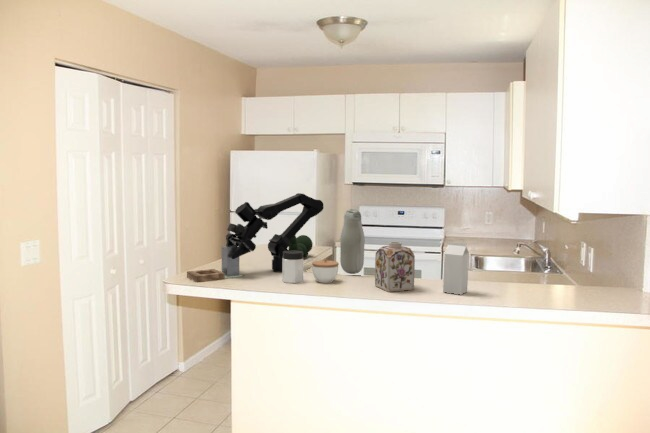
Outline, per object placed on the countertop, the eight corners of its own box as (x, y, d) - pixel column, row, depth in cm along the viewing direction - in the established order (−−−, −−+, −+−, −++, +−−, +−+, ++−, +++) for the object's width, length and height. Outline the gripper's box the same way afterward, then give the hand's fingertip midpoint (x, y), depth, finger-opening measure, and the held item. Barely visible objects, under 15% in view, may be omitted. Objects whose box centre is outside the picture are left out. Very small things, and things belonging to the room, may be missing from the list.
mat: (235, 273, 250) (235, 272, 250) (243, 276, 244) (243, 275, 244) (217, 274, 246) (217, 274, 246) (225, 278, 239) (225, 277, 239)
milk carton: (461, 295, 216) (463, 244, 214) (442, 292, 219) (444, 242, 218) (467, 291, 222) (469, 242, 220) (449, 289, 225) (451, 240, 224)
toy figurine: (300, 266, 278) (317, 253, 302) (299, 227, 275) (316, 218, 298) (282, 264, 281) (299, 252, 304) (281, 226, 278) (299, 217, 301)
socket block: (214, 274, 247) (214, 268, 246) (224, 279, 237) (224, 273, 237) (186, 277, 240) (186, 271, 240) (196, 282, 231) (196, 276, 231)
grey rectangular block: (233, 273, 248) (233, 245, 247) (239, 275, 244) (239, 247, 243) (221, 274, 245) (221, 246, 244) (227, 276, 241) (227, 248, 240)
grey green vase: (367, 273, 255) (369, 209, 252) (352, 276, 247) (354, 210, 245) (350, 270, 261) (352, 208, 259) (335, 273, 254) (336, 209, 251)
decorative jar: (400, 284, 234) (401, 239, 232) (414, 290, 223) (416, 243, 221) (373, 286, 229) (374, 240, 228) (387, 292, 218) (388, 245, 217)
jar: (290, 284, 230) (291, 254, 229) (277, 280, 236) (278, 251, 235) (307, 281, 236) (308, 252, 235) (294, 278, 242) (294, 249, 241)
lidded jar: (307, 282, 234) (307, 259, 233) (318, 277, 244) (319, 255, 243) (331, 285, 230) (331, 261, 229) (342, 280, 239) (342, 257, 238)
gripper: (229, 214, 252) (205, 241, 247) (249, 218, 237) (223, 247, 232) (246, 231, 257) (223, 258, 252) (266, 236, 242) (241, 265, 237)
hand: (227, 256), depth 243 cm, fingers open, 9 cm apart
